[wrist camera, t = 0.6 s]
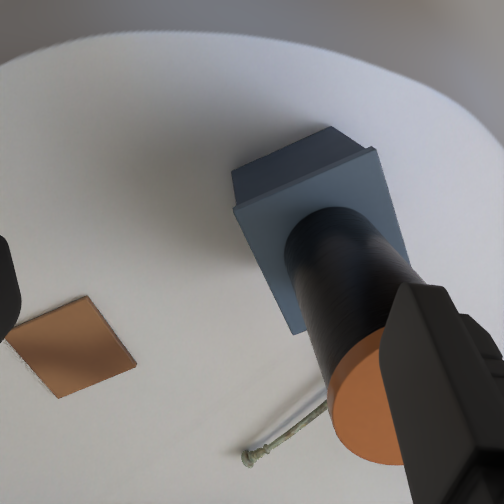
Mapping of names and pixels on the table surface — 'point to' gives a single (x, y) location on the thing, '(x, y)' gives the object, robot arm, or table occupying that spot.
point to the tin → (349, 320)
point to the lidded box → (308, 201)
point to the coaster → (71, 347)
